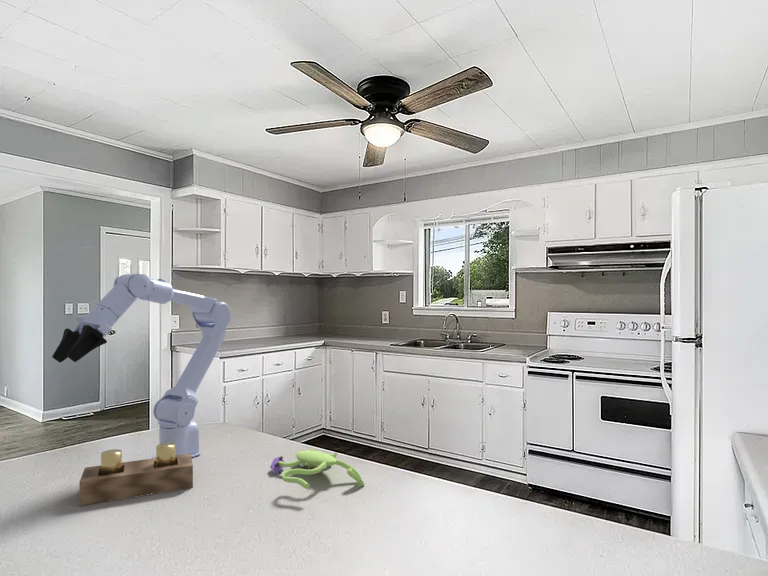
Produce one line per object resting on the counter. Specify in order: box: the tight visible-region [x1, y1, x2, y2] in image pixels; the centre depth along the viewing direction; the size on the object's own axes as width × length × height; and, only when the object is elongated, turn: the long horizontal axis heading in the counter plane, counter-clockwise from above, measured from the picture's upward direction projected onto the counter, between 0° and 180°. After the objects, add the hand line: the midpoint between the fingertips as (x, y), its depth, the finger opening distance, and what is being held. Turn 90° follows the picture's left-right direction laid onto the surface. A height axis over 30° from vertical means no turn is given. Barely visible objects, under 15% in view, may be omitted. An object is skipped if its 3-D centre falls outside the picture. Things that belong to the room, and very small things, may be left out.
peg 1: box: [100, 448, 123, 476], centre depth 108 cm, size 4×4×5 cm
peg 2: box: [155, 443, 175, 468], centre depth 113 cm, size 4×4×5 cm
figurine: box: [269, 448, 365, 490], centre depth 117 cm, size 18×27×6 cm
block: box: [78, 453, 194, 507], centre depth 110 cm, size 22×9×5 cm, turn 115°
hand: (63, 359), depth 107 cm, fingers open, 7 cm apart
